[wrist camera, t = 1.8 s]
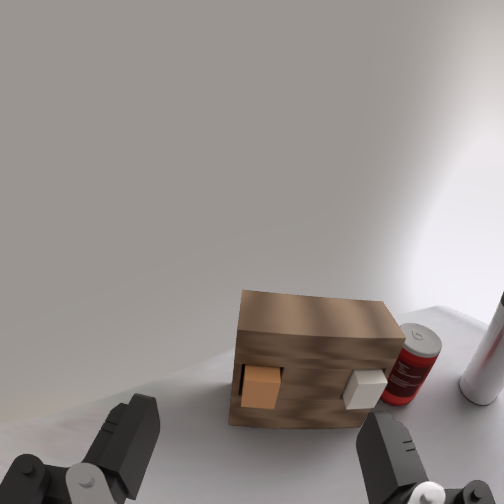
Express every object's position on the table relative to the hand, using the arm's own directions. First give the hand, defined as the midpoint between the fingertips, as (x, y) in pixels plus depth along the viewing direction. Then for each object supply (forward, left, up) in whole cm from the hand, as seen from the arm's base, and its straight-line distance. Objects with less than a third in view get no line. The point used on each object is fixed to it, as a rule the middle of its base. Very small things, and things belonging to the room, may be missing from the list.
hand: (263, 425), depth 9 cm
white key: (-13, -17, -17) cm, 27 cm away
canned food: (-24, -23, -24) cm, 41 cm away
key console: (-7, -20, -23) cm, 32 cm away
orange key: (-1, -17, -17) cm, 24 cm away
